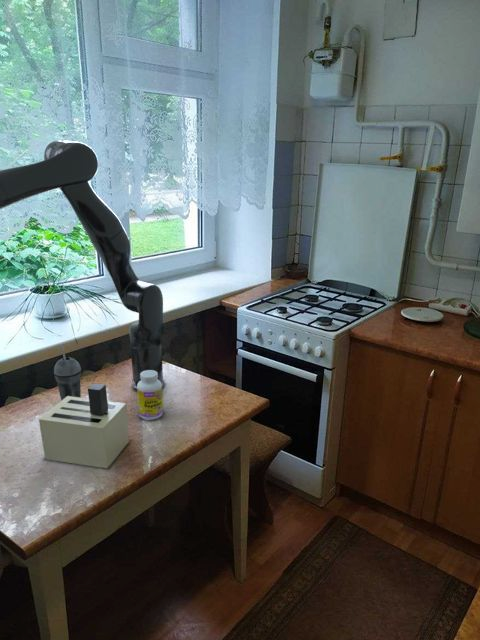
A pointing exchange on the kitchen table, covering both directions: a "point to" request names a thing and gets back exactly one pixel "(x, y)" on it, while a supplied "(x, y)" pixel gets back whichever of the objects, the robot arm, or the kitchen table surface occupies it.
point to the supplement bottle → (149, 395)
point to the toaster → (84, 433)
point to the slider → (98, 399)
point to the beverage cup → (68, 376)
